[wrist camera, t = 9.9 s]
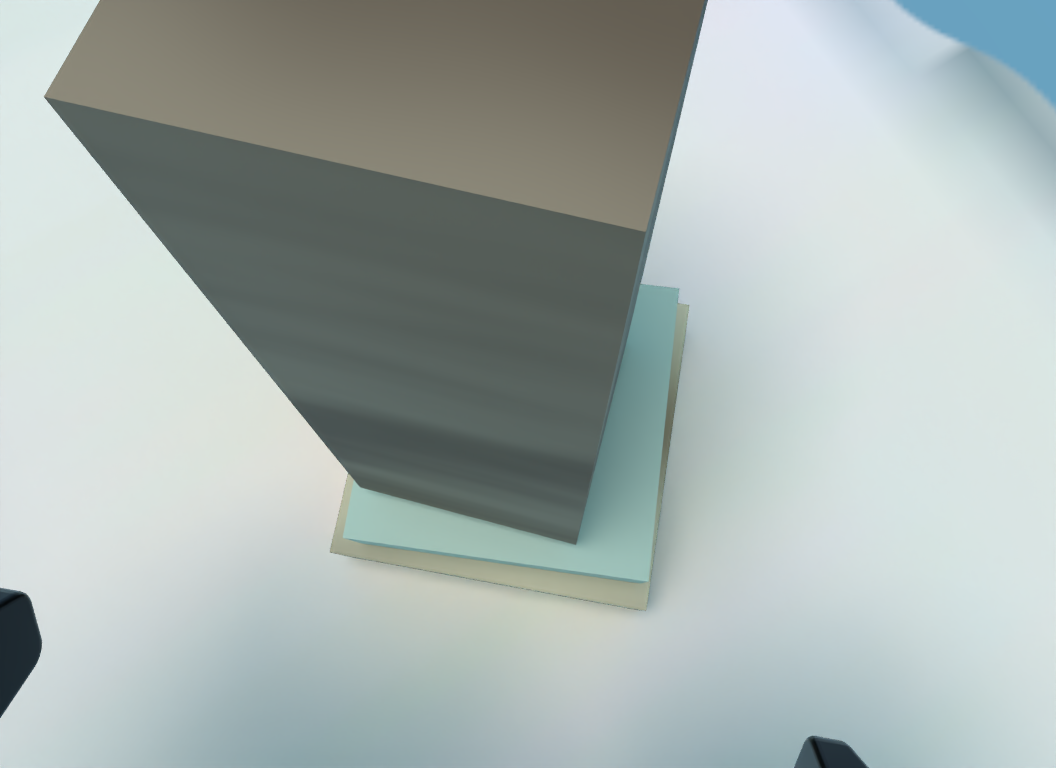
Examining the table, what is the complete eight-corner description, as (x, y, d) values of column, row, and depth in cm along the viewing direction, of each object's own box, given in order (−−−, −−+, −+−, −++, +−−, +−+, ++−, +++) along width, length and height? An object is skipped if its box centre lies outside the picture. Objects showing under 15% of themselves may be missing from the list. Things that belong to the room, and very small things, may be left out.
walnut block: (576, 545, 18) (646, 231, 6) (359, 487, 19) (43, 96, 7) (626, 342, 20) (757, -208, 8) (427, 295, 21) (268, -290, 9)
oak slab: (637, 610, 23) (646, 610, 21) (353, 557, 24) (329, 552, 21) (676, 333, 25) (689, 304, 23) (413, 292, 26) (397, 259, 23)
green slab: (640, 583, 21) (648, 581, 19) (362, 543, 21) (342, 537, 19) (668, 315, 22) (679, 288, 21) (410, 284, 23) (397, 255, 21)
